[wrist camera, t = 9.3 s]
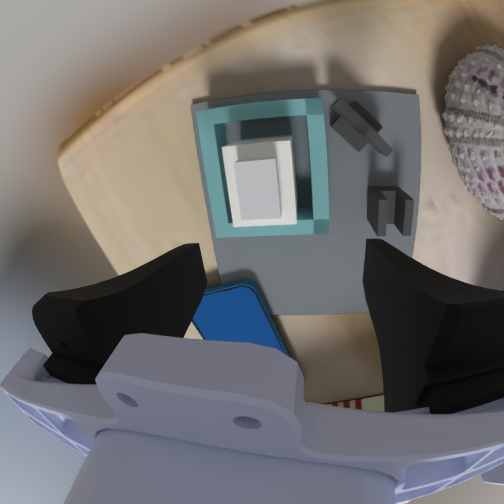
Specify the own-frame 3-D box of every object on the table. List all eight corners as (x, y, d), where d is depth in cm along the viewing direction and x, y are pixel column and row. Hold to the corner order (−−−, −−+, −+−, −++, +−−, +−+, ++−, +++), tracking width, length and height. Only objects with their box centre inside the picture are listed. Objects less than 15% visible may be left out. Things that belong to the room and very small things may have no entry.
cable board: (416, 95, 15) (438, 93, 11) (400, 307, 23) (410, 334, 19) (192, 104, 18) (171, 104, 14) (228, 311, 26) (218, 338, 23)
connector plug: (292, 134, 17) (289, 142, 12) (297, 197, 19) (296, 231, 14) (240, 139, 18) (216, 149, 13) (248, 200, 20) (229, 234, 15)
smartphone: (252, 281, 22) (303, 388, 28) (254, 275, 23) (304, 381, 29) (177, 299, 24) (243, 395, 30) (180, 293, 25) (244, 388, 31)
